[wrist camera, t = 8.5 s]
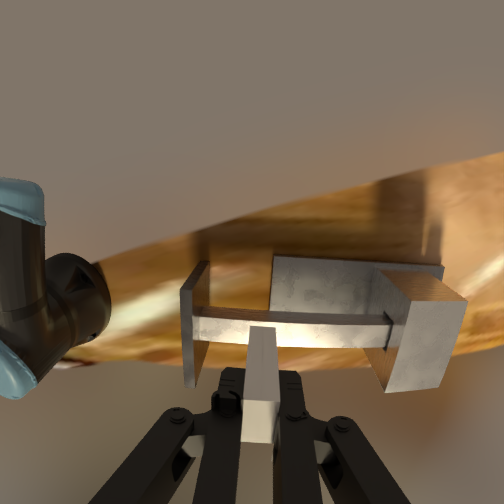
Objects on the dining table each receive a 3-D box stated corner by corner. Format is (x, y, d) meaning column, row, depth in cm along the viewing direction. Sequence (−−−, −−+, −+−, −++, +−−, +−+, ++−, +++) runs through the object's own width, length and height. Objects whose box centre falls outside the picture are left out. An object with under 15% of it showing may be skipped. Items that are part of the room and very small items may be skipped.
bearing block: (266, 339, 45) (266, 397, 32) (273, 254, 42) (277, 291, 29) (422, 340, 45) (459, 386, 32) (441, 264, 41) (491, 296, 28)
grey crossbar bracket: (200, 343, 42) (184, 387, 32) (200, 260, 39) (179, 289, 29) (388, 350, 41) (413, 390, 32) (406, 272, 38) (442, 301, 29)
